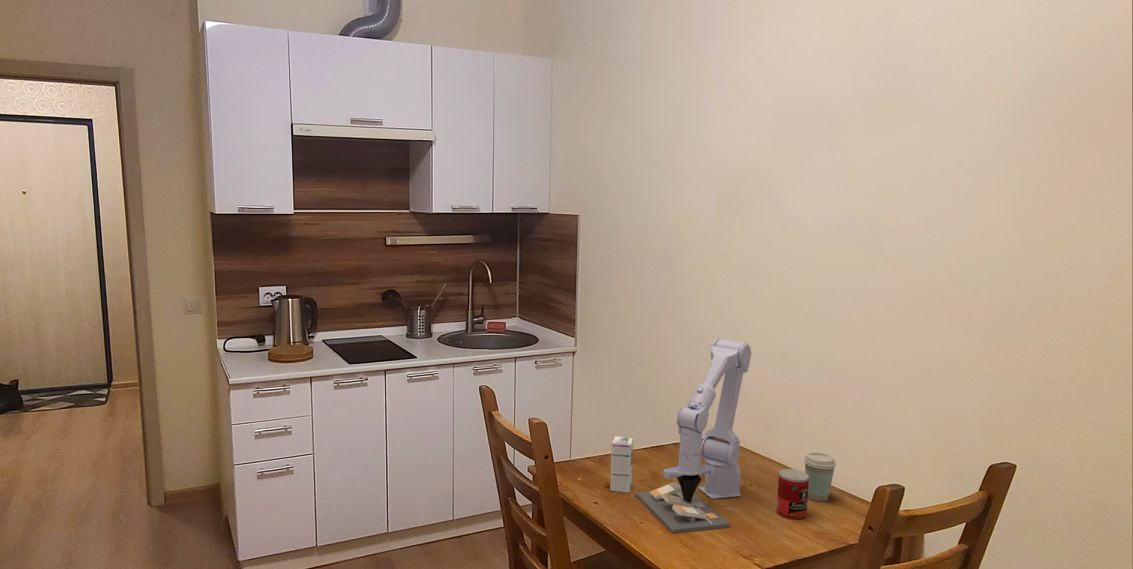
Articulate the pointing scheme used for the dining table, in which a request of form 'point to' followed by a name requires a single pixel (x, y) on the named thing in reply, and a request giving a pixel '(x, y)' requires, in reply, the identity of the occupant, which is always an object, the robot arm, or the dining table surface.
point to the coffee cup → (819, 475)
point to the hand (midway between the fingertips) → (687, 501)
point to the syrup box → (621, 464)
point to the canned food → (792, 493)
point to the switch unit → (680, 522)
